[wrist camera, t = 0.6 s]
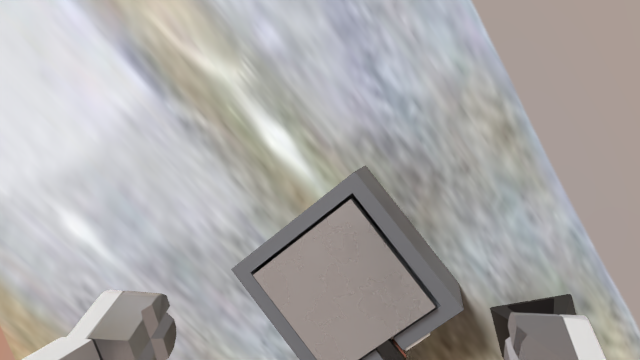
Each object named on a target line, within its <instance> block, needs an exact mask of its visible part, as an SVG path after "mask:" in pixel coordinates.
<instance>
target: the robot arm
mask: <svg viewBox="0 0 640 360" xmlns="http://www.w3.org/2000/svg"><path fill="white" fill-rule="evenodd" d="M169 306H170V304H169V302H168V299H167V296H166V295H164V294H160V293H147V292H135V291H117V290H107V291H105V292H103V293H102V294H101V295H100V296H99V297H98V299H97V300H96V301H95V302H94V304H93V305H92V306H91V307H90V309H89V310H88V311H87V312H86V314H85V315H84V316H83V317H82V319H81V320H80V321H79V322H78V324H77V325H76V326H75V327H74V329H73V330H72V331H71V332H70V334H69V335H68V336H67V337H60V338H58V339H57V340H55V341H53V342H51V343H50V344H48V345H46V346H44V347H43V348H41V349H39V350H37V351H36V352H34V353H32V354H30V355H29V356H27V357H25V358H23V359H22V360H166V359H167V358H169V356H170V354H171V352H172V350H173V348H174V344H175V339H176V325H175V321H174V319H173V318H172V317H171V316H170V315H169V314H168V313H167V312H166V311H167V310H168V308H169ZM508 329H509V333H510V337H509V338H508V339H506V340H505V348H504V360H607V359H606V357H605V355H604V352H603V350H602V348H601V346H600V344H599V341H598V339H597V337H596V335H595V332H594V330H593V328H592V326H591V323H590V321H589V319H588V318H587V317H586V316H585V315H561V314H560V315H557V314H535V313H513V312H511V314H510V316H509V321H508Z"/></svg>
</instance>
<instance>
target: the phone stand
mask: <svg viewBox="0 0 640 360" xmlns="http://www.w3.org/2000/svg"><path fill="white" fill-rule="evenodd" d="M490 309H491V313H492V317H493V321H494V325H495V329H496V333H497V337H498V341H499V345H500V349H501V353H502V357H503V358H504V348H505V340H506V339H508V338H509V337H510V333H509V329H508V321H509V316H510V314H511V312H513V313H535V314H557V315H560V314H561V315H576V314H575V310H574V306H573V302H572V298H571V295H570V294H566V295H561V296H555V297H549V298H543V299H537V300H531V301H526V302H520V303H514V304H508V305H502V306H496V307H492V308H490Z"/></svg>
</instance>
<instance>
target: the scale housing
mask: <svg viewBox="0 0 640 360" xmlns="http://www.w3.org/2000/svg"><path fill="white" fill-rule="evenodd" d="M351 198H353V199H354V200H355V201H356V203H357V204H358V205H359V206H360V208H361V209H362V210H363V211H364V213H365V214H366V215H367V217H368V218H369V219H370V220H371V222H372V223H373V224H374V226H375V227H376V228H377V229H378V231H379V232H380V233H381V234H382V236H383V237H384V238H385V240H386V241H387V242H388V243H389V245H390V246H391V247H392V248H393V250H394V251H395V252H396V254H397V255H398V256H399V257H400V259H401V260H402V261H403V262H404V264H405V265H406V266H407V268H408V269H409V270H410V271H411V273H412V274H413V275H414V276H415V278H416V279H417V280H418V282H419V283H420V284H421V285H422V287H423V288H424V289H425V290H426V292H427V293H428V294H429V296H430V297H431V298H432V299H433V301H434V302H435V303H436V307H435V308H434V309H432V310H431V311H429V312H428V313H427V314H425V315H424V316H422V317H421V318H419V319H418V320H416V321H415V322H413V323H412V324H410V325H409V326H407V327H406V328H404V329H403V330H401V331H400V332H398V333H397V334H395V335H394V339H395V341H396V342H397V343H398V345H399V346H400V347H401V348H402V350H404V349H405V350H406V351H407V350H408V349H410V348H411V347H413V346H414V345H416V344H417V343H419V342H420V341H422V340H423V339H425V338H426V337H428V336H429V335H431V331H433V330H434V329H436V328H437V327H439V326H440V325H442V324H443V323H445V322H446V321H448V320H449V319H451V318H452V317H454V316H455V315H457V314H458V313H460V312H461V311H463V310H464V308H463V303H462V298H461V293H460V288H459V283H458V282H457V280H456V279H455V278H454V277H453V275H452V274H451V273H450V272H449V270H448V269H447V268H446V267H445V265H444V264H443V263H442V261H441V260H440V259H439V258H438V256H437V255H436V254H435V253H434V251H433V250H432V249H431V248H430V246H429V245H428V244H427V242H426V241H425V240H424V239H423V237H422V236H421V235H420V234H419V232H418V231H417V230H416V229H415V227H414V226H413V225H412V224H411V222H410V221H409V220H408V218H407V217H406V216H405V215H404V213H403V212H402V211H401V210H400V208H399V207H398V206H397V205H396V203H395V202H394V201H393V199H392V198H391V197H390V196H389V194H388V193H387V192H386V191H385V189H384V188H383V187H382V186H381V184H380V183H379V182H378V181H377V179H376V178H375V177H374V175H373V174H372V173H371V172H370V170H369V169H368V168H367V167H366V166H364V167H362V168H360V169H358V170H357V171H355V172H354V173H352V174H351V175H350V176H348V177H347V178H346V179H345V180H343V181H342V182H341V183H340V184H338V185H337V186H336V187H335V188H333V189H332V190H331V191H330V192H328V193H327V194H326V195H325V196H323V197H322V198H321V199H319V200H318V201H317V202H316V203H314V204H313V205H312V206H311V207H309V208H308V209H307V210H306V211H304V212H303V213H302V214H301V215H299V216H298V217H297V218H295V219H294V220H293V221H292V222H290V223H289V224H288V225H287V226H285V227H284V228H283V229H282V230H280V231H279V232H278V233H277V234H275V235H274V236H273V237H272V238H270V239H269V240H268V241H266V242H265V243H264V244H263V245H261V246H260V247H259V248H258V249H256V250H255V251H254V252H253V253H251V254H250V255H249V256H248V257H246V258H245V259H244V260H242V261H241V262H240V263H239V264H237V265H236V266H235V267H234V268H232V269H231V270H232V271H233V272H234V274H235V275H236V276H237V278H238V279H239V280H240V282H241V283H242V284H243V286H244V287H245V288H246V290H247V291H248V292H249V293H250V295H251V296H252V297H253V299H254V300H255V301H256V303H257V304H258V305H259V307H260V308H261V309H262V311H263V312H264V313H265V315H266V316H267V317H268V319H269V320H270V321H271V323H272V324H273V325H274V326H275V328H276V329H277V330H278V332H279V333H280V334H281V336H282V337H283V338H284V340H285V341H286V342H287V344H288V345H289V346H290V348H291V349H292V350H293V352H294V353H295V354H296V355H297V357H298V358H299V359H300V360H317V359H316V358H315V356H314V355H313V354H312V352H311V351H310V350H309V349H308V347H307V346H306V345H305V343H304V342H303V341H302V339H301V338H300V337H299V335H298V334H297V333H296V331H295V330H294V329H293V328H292V326H291V325H290V324H289V322H288V321H287V320H286V318H285V317H284V316H283V314H282V313H281V312H280V310H279V309H278V308H277V307H276V305H275V304H274V303H273V301H272V300H271V299H270V297H269V296H268V295H267V293H266V292H265V291H264V289H263V288H262V287H261V285H260V284H259V283H258V282H257V280H256V279H255V278H254V276H253V275H254V274H255V273H256V272H257V271H259V270H260V269H261V268H263V267H264V266H265V265H266V264H268V263H269V262H270V261H272V260H273V259H274V258H275V257H277V256H278V255H279V254H281V253H282V252H283V251H284V250H286V249H287V248H288V247H290V246H291V245H292V244H293V243H295V242H296V241H297V240H299V239H300V238H301V237H302V236H304V235H305V234H306V233H308V232H309V231H310V230H311V229H313V228H314V227H315V226H317V225H318V224H319V223H320V222H322V221H323V220H324V219H326V218H327V217H328V216H329V215H331V214H332V213H333V212H335V211H336V210H337V209H338V208H340V207H341V206H342V205H344V204H345V203H346V202H347V201H349V200H350V199H351ZM358 360H386V359H385V358H384V357H383V356H382V354H381V353H380V352H379V350H378V349H377V348H375V349H373V350H372V351H370V352H369V353H367V354H366V355H364V356H363V357H361V358H360V359H358Z"/></svg>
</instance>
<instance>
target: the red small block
mask: <svg viewBox="0 0 640 360" xmlns="http://www.w3.org/2000/svg"><path fill="white" fill-rule="evenodd" d="M392 341H393V342H394V344H395V345H396V346H397V348H398V349H399V350H400V351H401V353H402V354H403V355H404V357H405V358H406V354H405V353H404V352H403V350H402V349H401V348H400V346H399V345H398V344H397V343H396V341H395V340H394V339H393V340H392Z"/></svg>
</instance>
